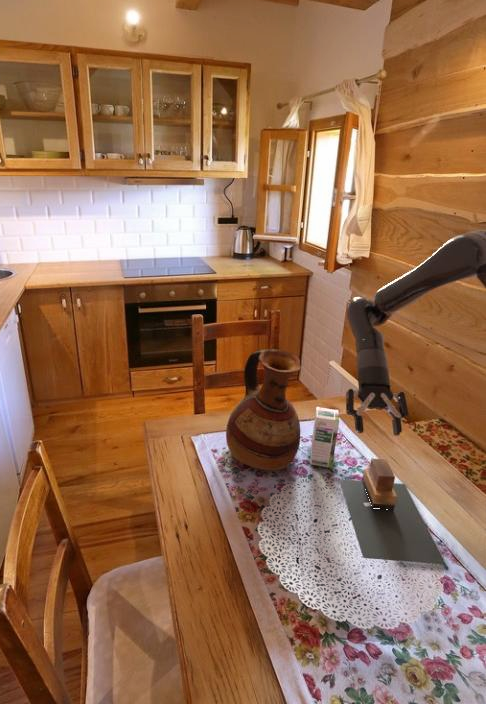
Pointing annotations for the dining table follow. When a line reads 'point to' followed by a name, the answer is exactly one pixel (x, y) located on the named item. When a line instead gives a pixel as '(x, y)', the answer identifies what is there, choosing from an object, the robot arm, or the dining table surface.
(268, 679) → the dining table surface
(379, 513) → the slate board
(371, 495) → the eraser
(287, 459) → the ceramic pitcher
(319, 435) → the syrup box
